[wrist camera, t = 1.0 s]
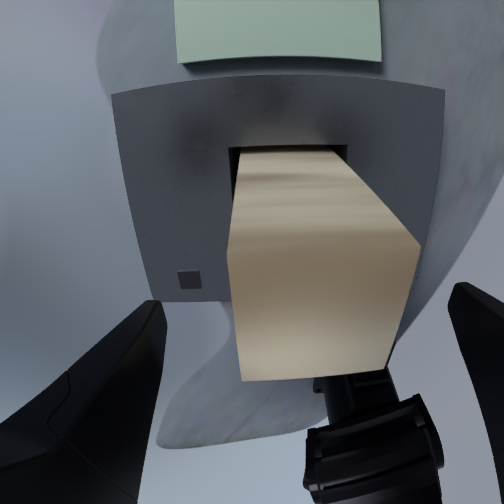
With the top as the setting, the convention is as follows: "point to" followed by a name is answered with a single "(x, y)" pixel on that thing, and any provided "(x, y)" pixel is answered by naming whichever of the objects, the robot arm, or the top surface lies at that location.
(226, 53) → the pad
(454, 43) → the top surface
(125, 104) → the plate
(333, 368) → the peg
